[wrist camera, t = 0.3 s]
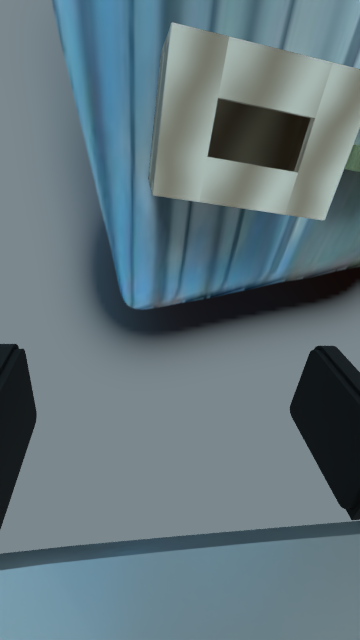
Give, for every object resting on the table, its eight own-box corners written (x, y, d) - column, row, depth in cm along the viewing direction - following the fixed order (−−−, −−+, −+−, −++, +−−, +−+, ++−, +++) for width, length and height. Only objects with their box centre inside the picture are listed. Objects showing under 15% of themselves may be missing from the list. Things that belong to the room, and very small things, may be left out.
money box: (316, 87, 33) (380, 74, 24) (282, 199, 38) (324, 220, 30) (161, 51, 30) (172, 22, 21) (148, 178, 35) (152, 195, 27)
